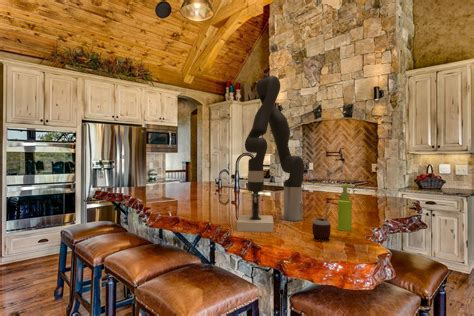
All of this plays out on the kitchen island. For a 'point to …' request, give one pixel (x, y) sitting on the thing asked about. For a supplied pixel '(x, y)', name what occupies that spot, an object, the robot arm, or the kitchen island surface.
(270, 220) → the socket block
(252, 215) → the peg
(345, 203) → the soap dispenser
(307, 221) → the kitchen island surface
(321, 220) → the mate gourd
